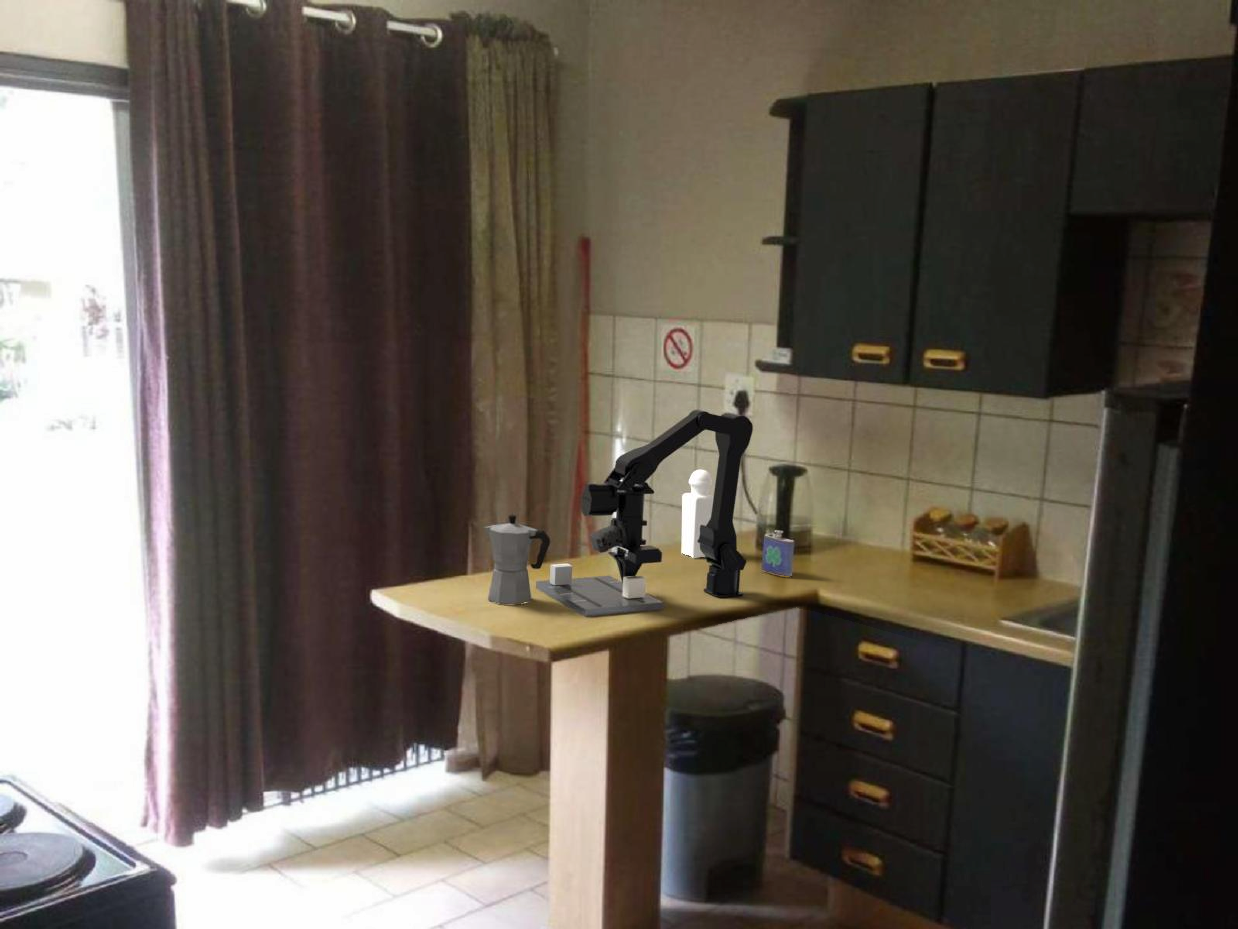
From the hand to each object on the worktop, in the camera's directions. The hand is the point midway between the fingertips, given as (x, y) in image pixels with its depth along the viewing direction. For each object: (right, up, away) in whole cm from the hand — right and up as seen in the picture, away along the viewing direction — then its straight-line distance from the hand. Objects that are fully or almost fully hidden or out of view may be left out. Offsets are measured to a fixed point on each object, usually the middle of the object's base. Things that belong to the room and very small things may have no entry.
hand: (626, 587), depth 242 cm
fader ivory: (+2, -2, -3) cm, 4 cm away
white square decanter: (+18, +3, +48) cm, 51 cm away
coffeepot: (-23, -3, -4) cm, 24 cm away
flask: (+36, -1, +31) cm, 48 cm away
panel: (-6, -2, +1) cm, 7 cm away
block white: (-14, 0, +5) cm, 15 cm away
